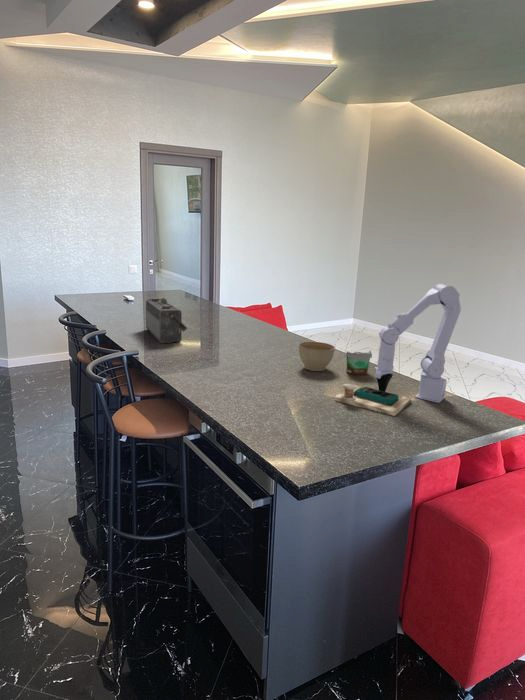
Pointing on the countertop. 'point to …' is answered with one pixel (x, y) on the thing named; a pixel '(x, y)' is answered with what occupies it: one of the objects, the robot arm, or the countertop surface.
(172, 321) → the radio
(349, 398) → the notched board
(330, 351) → the planter bowl
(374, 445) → the countertop surface
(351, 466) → the countertop surface
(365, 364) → the food container
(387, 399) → the digital multimeter
